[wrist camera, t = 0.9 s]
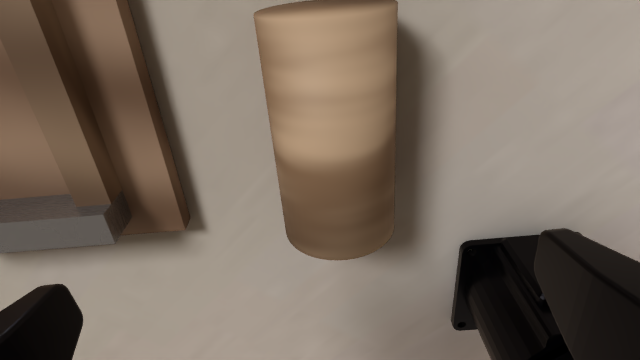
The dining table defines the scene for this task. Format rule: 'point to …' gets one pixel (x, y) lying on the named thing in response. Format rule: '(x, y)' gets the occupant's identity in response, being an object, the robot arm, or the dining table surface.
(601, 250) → the robot arm
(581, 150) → the dining table surface
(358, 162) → the tan wooden cylinder
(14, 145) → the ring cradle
